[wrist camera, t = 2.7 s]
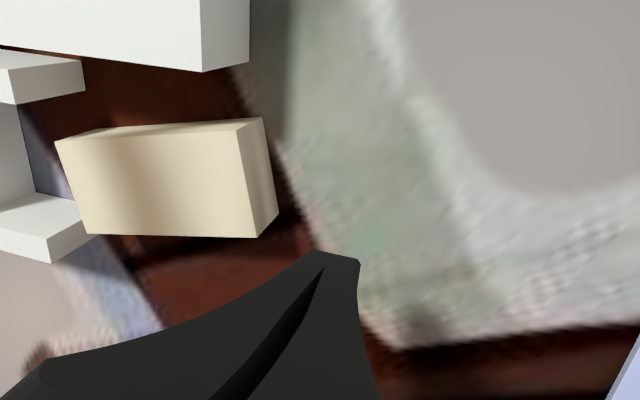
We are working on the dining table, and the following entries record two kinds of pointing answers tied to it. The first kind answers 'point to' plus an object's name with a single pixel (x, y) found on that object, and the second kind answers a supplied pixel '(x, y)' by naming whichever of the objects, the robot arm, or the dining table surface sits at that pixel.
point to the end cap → (14, 169)
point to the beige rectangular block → (173, 179)
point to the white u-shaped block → (133, 30)
